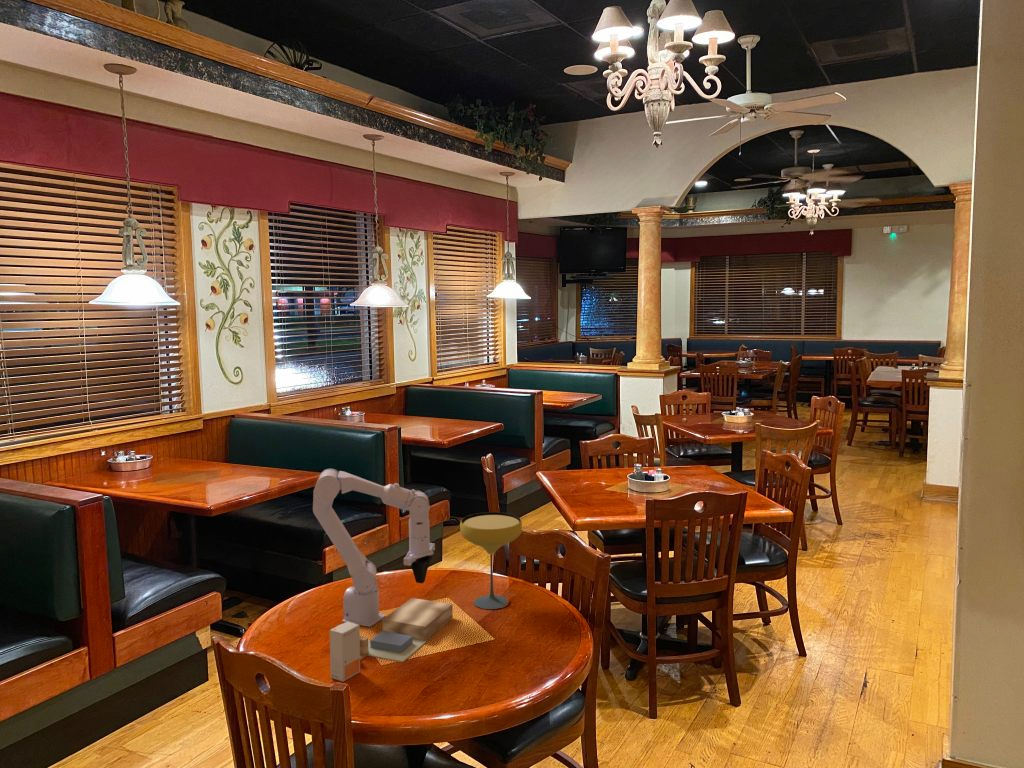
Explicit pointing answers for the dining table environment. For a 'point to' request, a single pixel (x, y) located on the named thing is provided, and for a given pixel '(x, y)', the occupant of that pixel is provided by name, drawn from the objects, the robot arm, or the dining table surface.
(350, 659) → the skincare box
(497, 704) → the dining table surface
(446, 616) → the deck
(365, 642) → the oak rack
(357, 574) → the robot arm
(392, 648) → the blue-grey rectangular block
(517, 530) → the cocktail glass
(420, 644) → the mat
